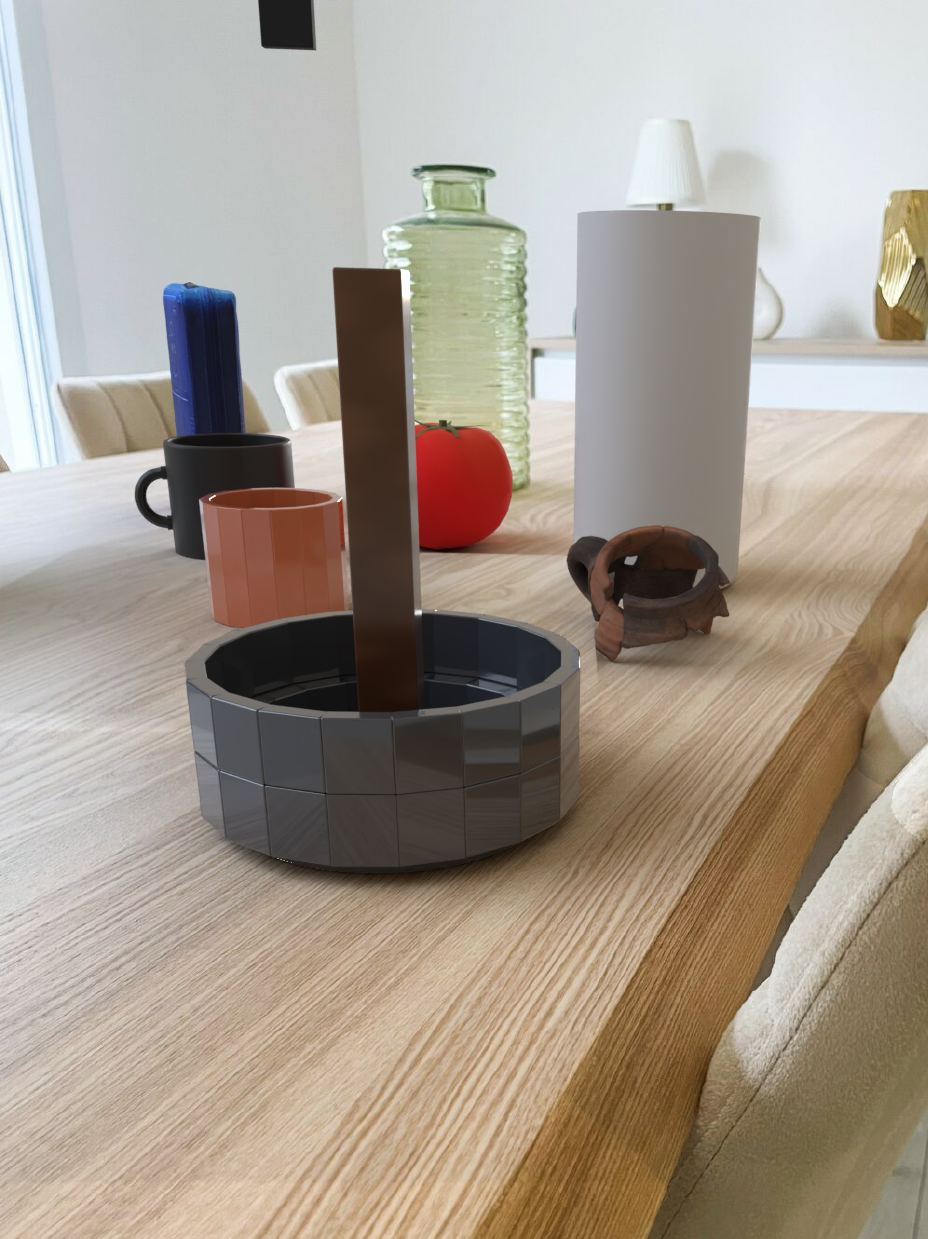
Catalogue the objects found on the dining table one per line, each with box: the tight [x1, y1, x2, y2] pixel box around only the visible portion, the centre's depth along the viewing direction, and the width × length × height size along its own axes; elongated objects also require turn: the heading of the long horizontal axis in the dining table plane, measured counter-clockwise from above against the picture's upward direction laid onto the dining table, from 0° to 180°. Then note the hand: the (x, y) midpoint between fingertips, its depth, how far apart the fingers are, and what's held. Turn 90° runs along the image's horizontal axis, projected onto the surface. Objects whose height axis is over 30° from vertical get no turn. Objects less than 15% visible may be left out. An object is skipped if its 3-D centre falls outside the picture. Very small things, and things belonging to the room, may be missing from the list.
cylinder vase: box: [572, 209, 762, 590], centre depth 87 cm, size 12×12×25 cm
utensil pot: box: [199, 487, 350, 629], centre depth 76 cm, size 8×8×8 cm
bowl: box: [183, 608, 582, 875], centre depth 50 cm, size 16×16×6 cm
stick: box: [331, 266, 425, 712], centre depth 47 cm, size 2×2×20 cm
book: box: [162, 281, 247, 437], centre depth 111 cm, size 14×5×20 cm, turn 25°
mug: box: [134, 432, 296, 561], centre depth 94 cm, size 9×12×9 cm
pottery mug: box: [566, 525, 731, 662], centre depth 74 cm, size 12×10×8 cm
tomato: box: [415, 419, 514, 550], centre depth 101 cm, size 12×12×10 cm
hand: (256, 23), depth 57 cm, fingers open, 13 cm apart
